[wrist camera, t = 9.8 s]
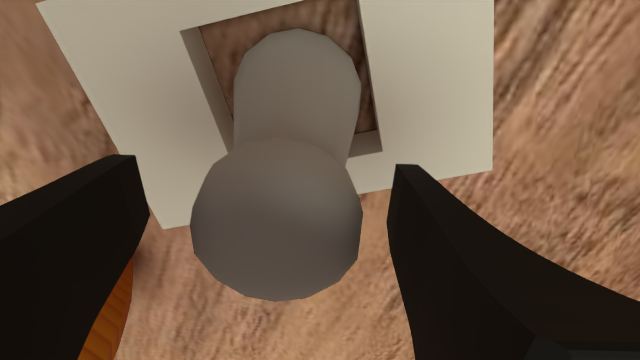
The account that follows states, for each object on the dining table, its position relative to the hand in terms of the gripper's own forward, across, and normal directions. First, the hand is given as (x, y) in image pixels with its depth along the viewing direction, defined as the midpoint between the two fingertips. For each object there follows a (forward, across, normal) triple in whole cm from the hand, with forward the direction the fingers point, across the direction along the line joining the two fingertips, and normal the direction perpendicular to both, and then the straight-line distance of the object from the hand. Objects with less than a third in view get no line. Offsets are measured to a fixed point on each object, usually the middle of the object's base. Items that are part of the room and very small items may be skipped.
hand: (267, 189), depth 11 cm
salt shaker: (+11, 0, 0) cm, 11 cm away
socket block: (+10, 0, 0) cm, 10 cm away
